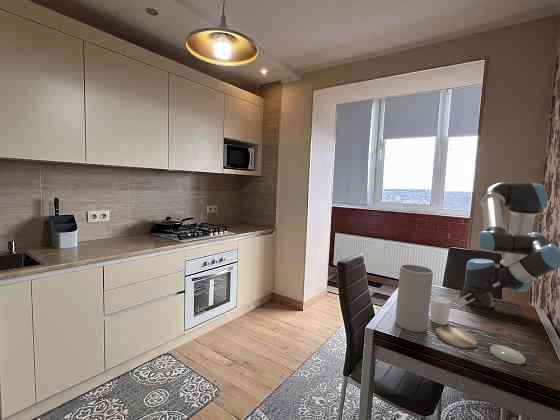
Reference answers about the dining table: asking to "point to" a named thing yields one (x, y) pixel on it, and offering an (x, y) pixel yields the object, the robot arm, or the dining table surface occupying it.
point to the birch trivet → (456, 337)
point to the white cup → (440, 310)
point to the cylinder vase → (413, 297)
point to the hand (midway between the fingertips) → (466, 299)
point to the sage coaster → (507, 354)
